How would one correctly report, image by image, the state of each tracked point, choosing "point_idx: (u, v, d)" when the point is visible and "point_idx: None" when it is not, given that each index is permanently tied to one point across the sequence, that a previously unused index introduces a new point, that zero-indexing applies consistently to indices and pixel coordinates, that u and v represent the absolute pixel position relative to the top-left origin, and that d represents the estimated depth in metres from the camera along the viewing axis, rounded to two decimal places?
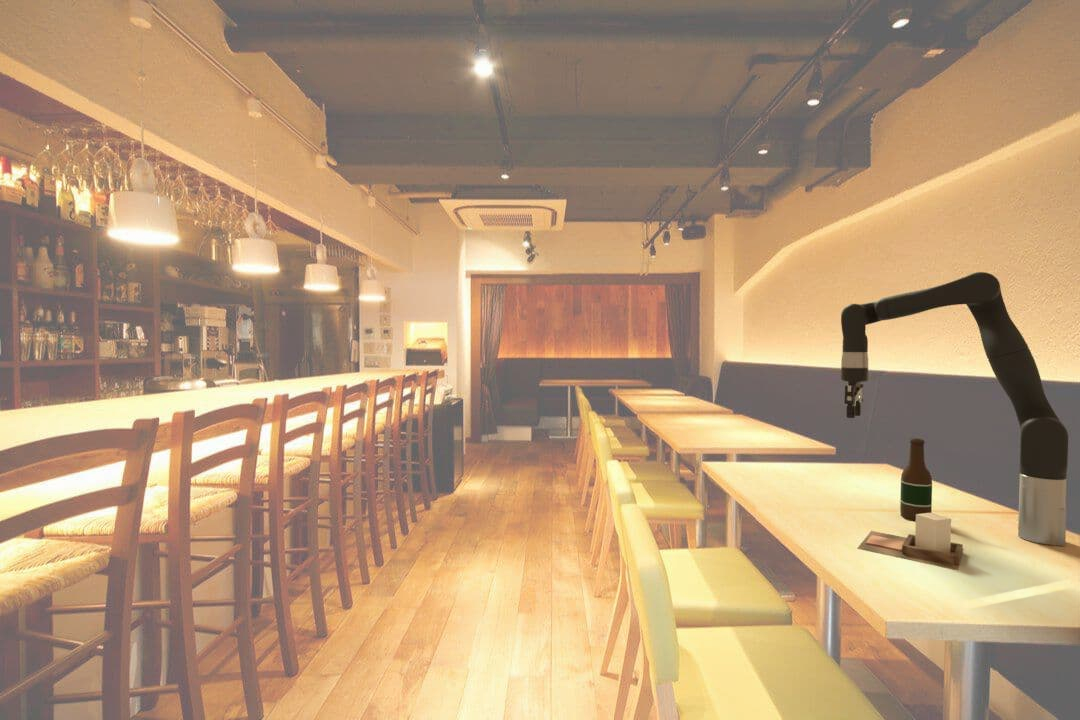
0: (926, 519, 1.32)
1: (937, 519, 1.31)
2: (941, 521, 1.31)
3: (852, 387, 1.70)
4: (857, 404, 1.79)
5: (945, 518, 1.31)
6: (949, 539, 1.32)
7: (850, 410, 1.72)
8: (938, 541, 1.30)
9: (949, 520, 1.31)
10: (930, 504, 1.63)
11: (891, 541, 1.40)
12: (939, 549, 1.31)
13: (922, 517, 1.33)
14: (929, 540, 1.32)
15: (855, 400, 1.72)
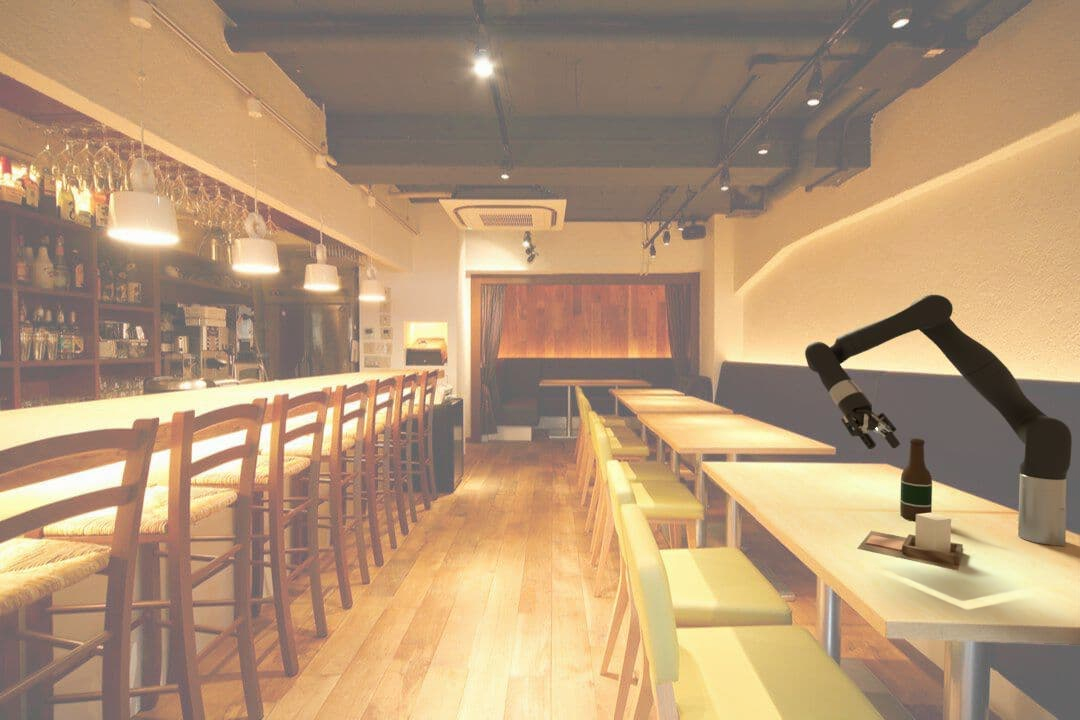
0: (926, 519, 1.32)
1: (937, 519, 1.31)
2: (941, 521, 1.31)
3: (846, 416, 1.49)
4: (888, 434, 1.49)
5: (945, 518, 1.31)
6: (949, 539, 1.32)
7: (864, 439, 1.45)
8: (938, 541, 1.30)
9: (949, 520, 1.31)
10: (930, 504, 1.63)
11: (891, 541, 1.40)
12: (939, 549, 1.31)
13: (922, 517, 1.33)
14: (929, 540, 1.32)
15: (864, 427, 1.47)
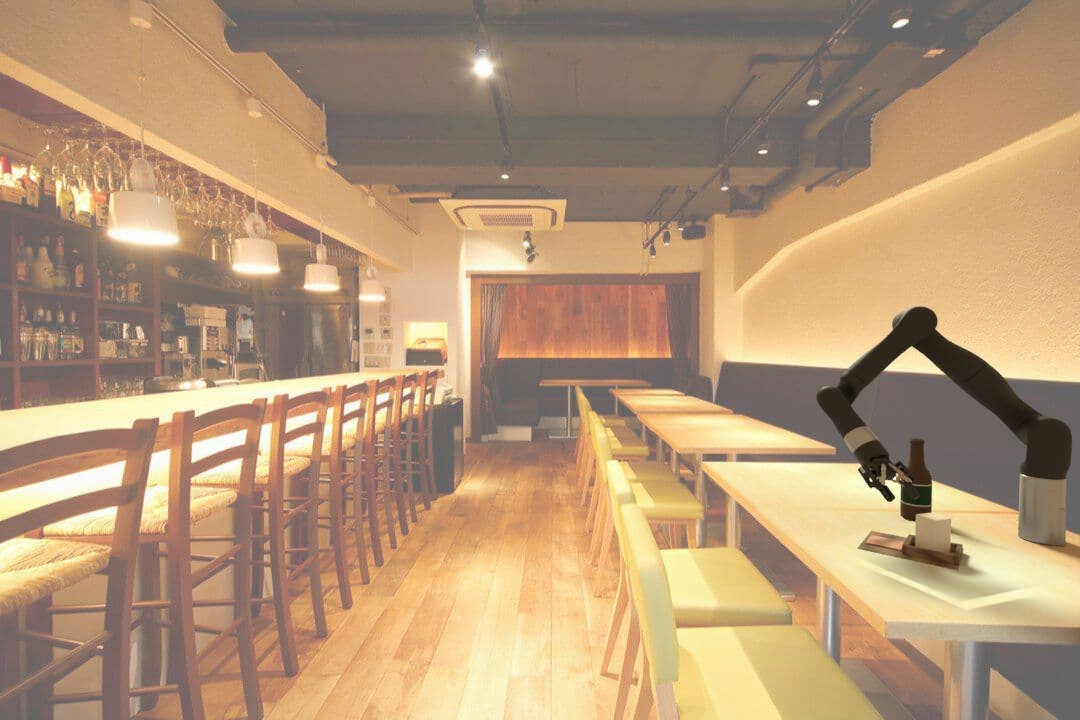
0: (926, 519, 1.32)
1: (937, 519, 1.31)
2: (941, 521, 1.31)
3: (863, 466, 1.44)
4: (907, 484, 1.44)
5: (945, 518, 1.31)
6: (949, 539, 1.32)
7: (883, 492, 1.40)
8: (938, 541, 1.30)
9: (949, 520, 1.31)
10: (930, 504, 1.63)
11: (891, 541, 1.40)
12: (939, 549, 1.31)
13: (922, 517, 1.33)
14: (929, 540, 1.32)
15: (882, 478, 1.42)
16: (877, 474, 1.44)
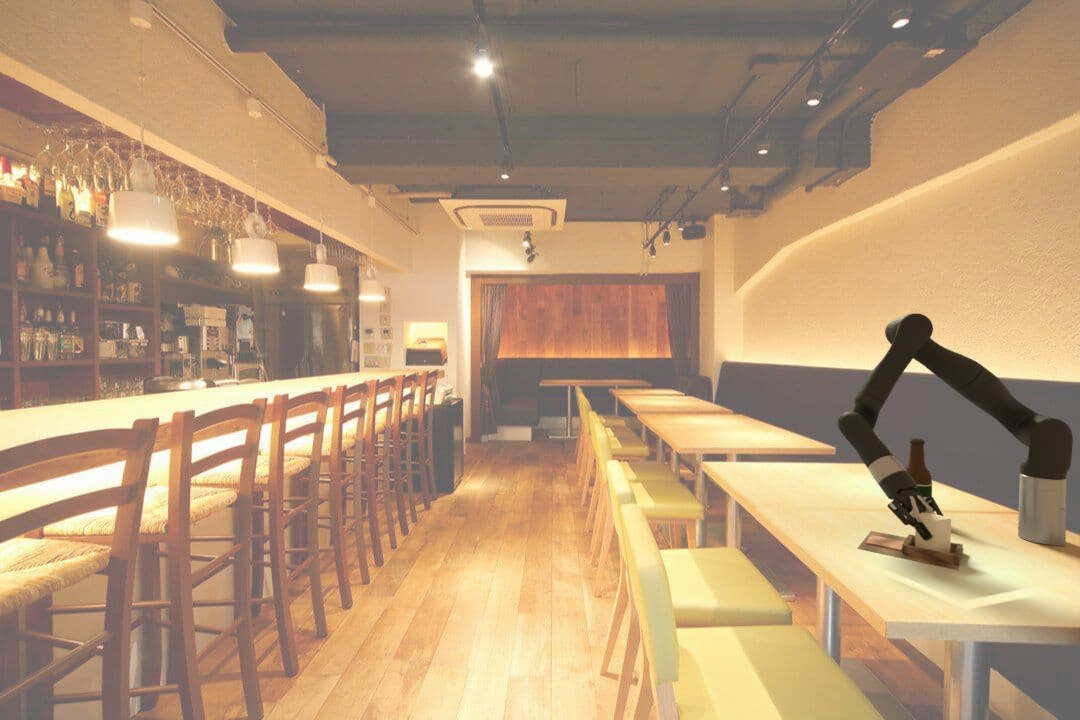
0: (926, 519, 1.32)
1: (937, 519, 1.31)
2: (941, 521, 1.31)
3: (894, 503, 1.36)
4: None
5: (945, 518, 1.31)
6: (949, 539, 1.32)
7: (919, 529, 1.33)
8: (938, 541, 1.30)
9: (949, 520, 1.31)
10: None
11: (891, 541, 1.40)
12: (939, 549, 1.31)
13: (922, 517, 1.33)
14: (929, 540, 1.32)
15: (916, 515, 1.34)
16: (908, 509, 1.37)
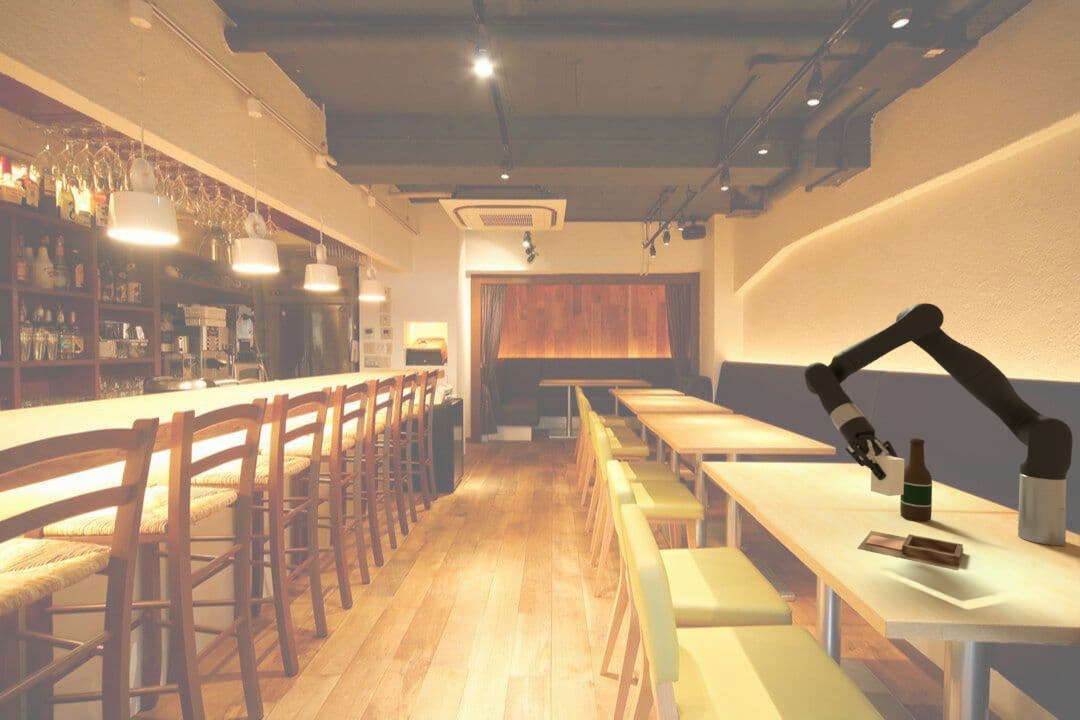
0: (880, 460, 1.38)
1: (891, 459, 1.37)
2: (895, 461, 1.37)
3: (851, 445, 1.42)
4: None
5: (899, 459, 1.37)
6: (902, 479, 1.38)
7: (874, 470, 1.39)
8: (891, 480, 1.36)
9: (902, 460, 1.38)
10: (930, 504, 1.63)
11: (891, 541, 1.40)
12: (892, 488, 1.37)
13: (877, 458, 1.39)
14: (883, 479, 1.38)
15: (871, 456, 1.40)
16: (865, 451, 1.43)
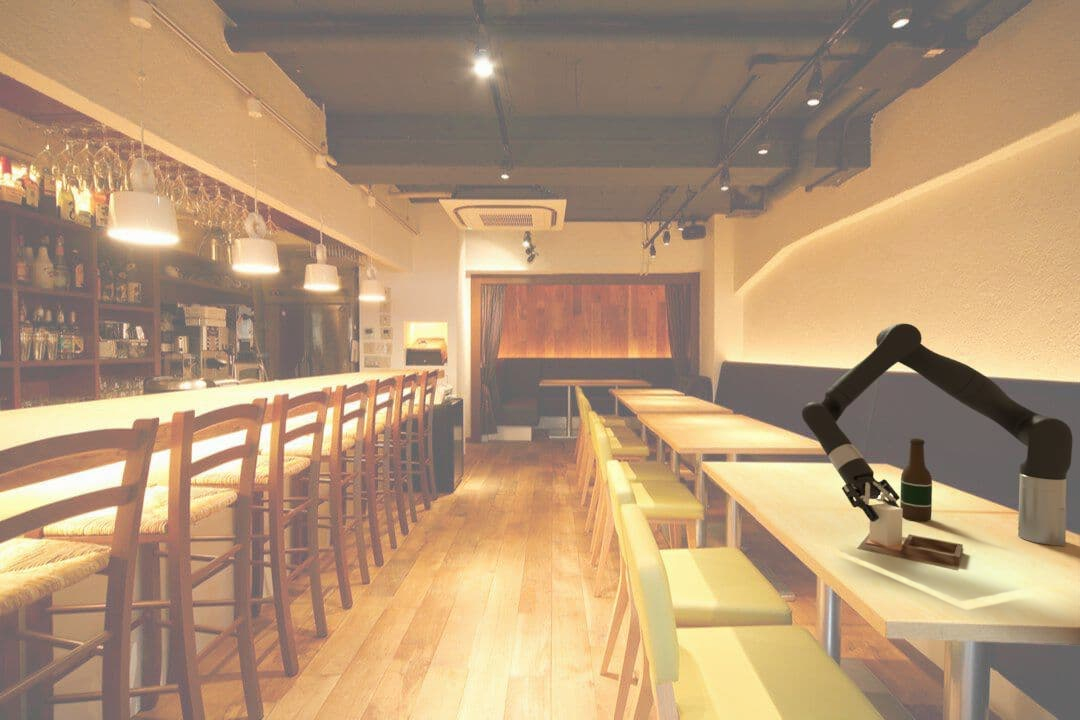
0: (878, 509, 1.39)
1: (889, 509, 1.37)
2: (893, 511, 1.37)
3: (847, 485, 1.43)
4: (891, 503, 1.43)
5: (897, 508, 1.38)
6: (901, 528, 1.38)
7: (867, 511, 1.39)
8: (889, 530, 1.37)
9: (901, 510, 1.38)
10: (930, 504, 1.63)
11: None
12: (890, 538, 1.37)
13: (875, 507, 1.40)
14: (881, 529, 1.38)
15: (865, 498, 1.41)
16: (861, 493, 1.43)
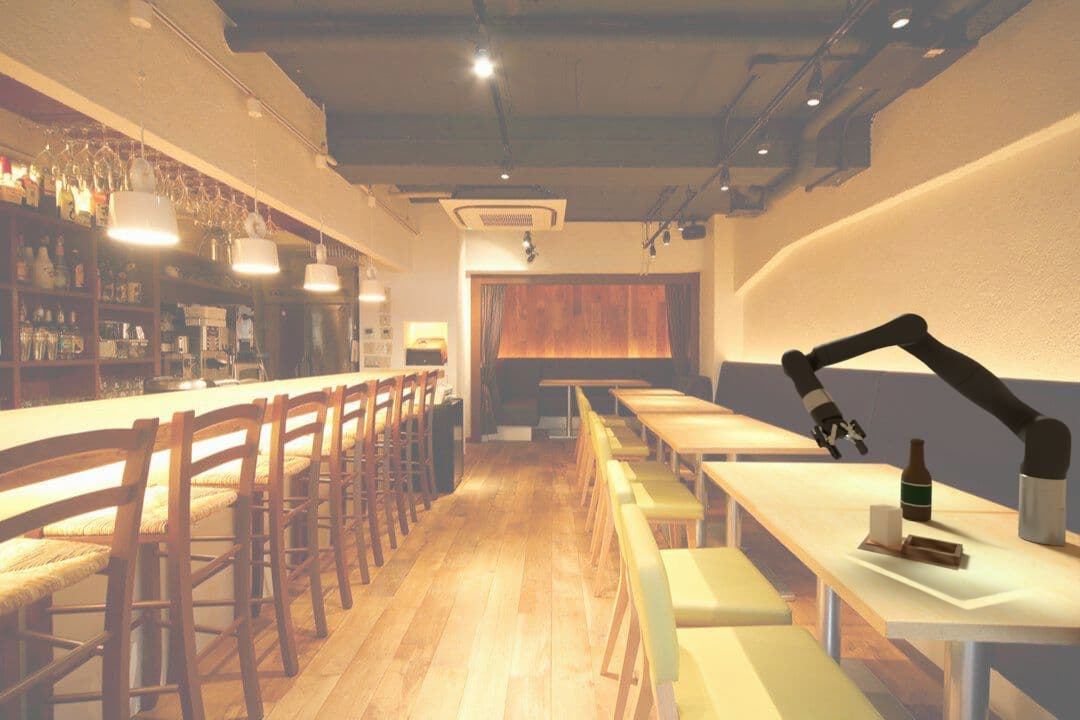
0: (878, 509, 1.39)
1: (889, 509, 1.37)
2: (893, 511, 1.37)
3: (814, 428, 1.56)
4: (857, 442, 1.55)
5: (897, 508, 1.38)
6: (901, 528, 1.38)
7: (831, 451, 1.52)
8: (889, 530, 1.37)
9: (901, 510, 1.38)
10: (930, 504, 1.63)
11: None
12: (890, 538, 1.37)
13: (875, 507, 1.40)
14: (881, 529, 1.38)
15: (831, 439, 1.53)
16: (828, 434, 1.56)
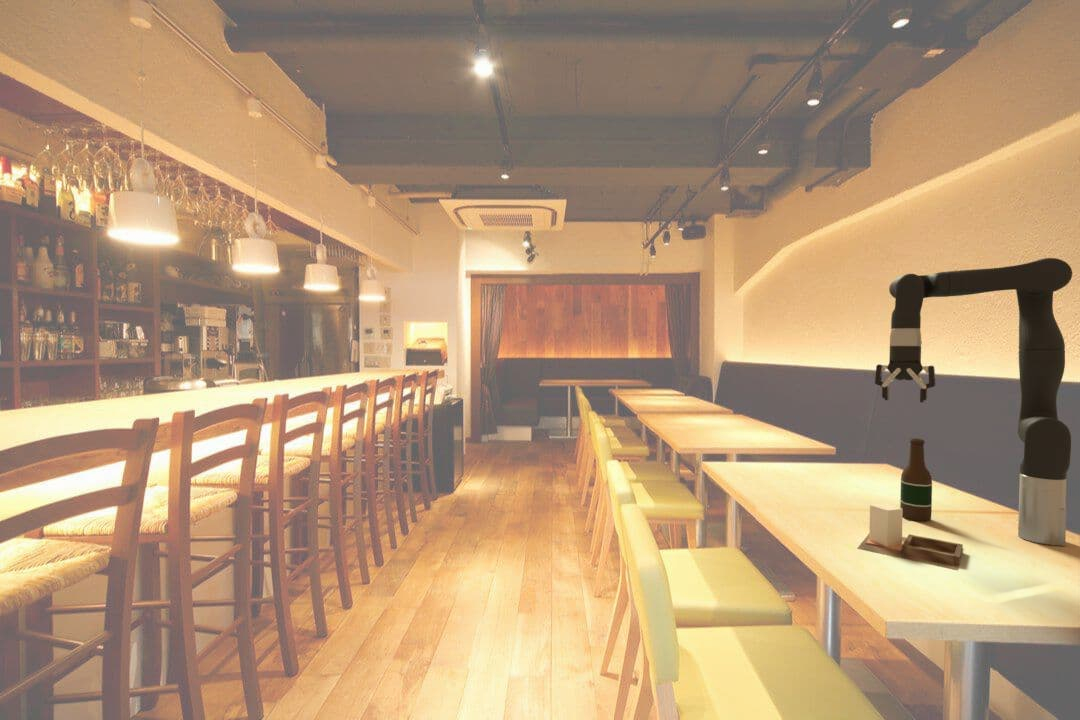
0: (878, 509, 1.39)
1: (889, 509, 1.37)
2: (893, 511, 1.37)
3: None
4: (921, 389, 1.54)
5: (897, 508, 1.38)
6: (901, 528, 1.38)
7: None
8: (889, 530, 1.37)
9: (901, 510, 1.38)
10: (930, 504, 1.63)
11: None
12: (890, 538, 1.37)
13: (875, 507, 1.40)
14: (881, 529, 1.38)
15: (887, 381, 1.59)
16: None
